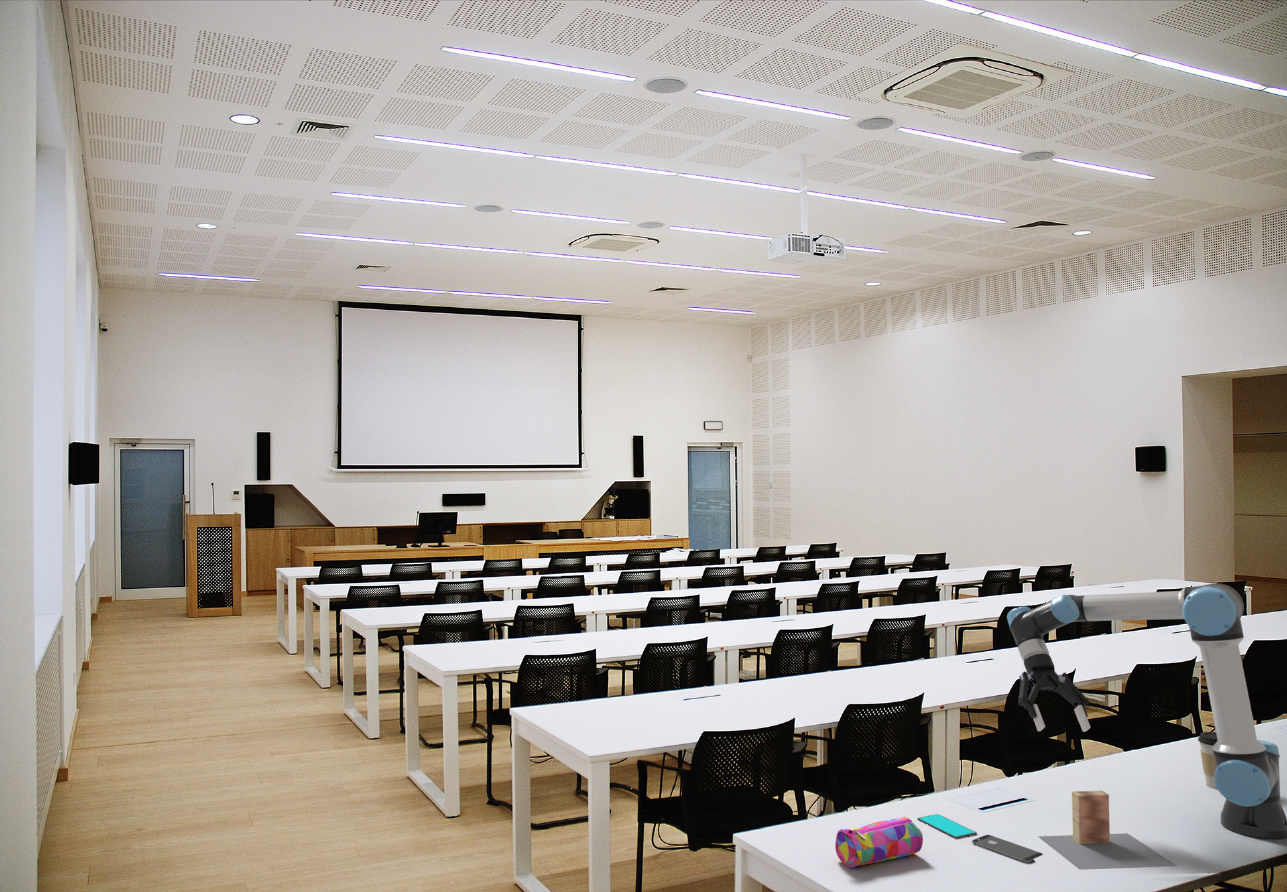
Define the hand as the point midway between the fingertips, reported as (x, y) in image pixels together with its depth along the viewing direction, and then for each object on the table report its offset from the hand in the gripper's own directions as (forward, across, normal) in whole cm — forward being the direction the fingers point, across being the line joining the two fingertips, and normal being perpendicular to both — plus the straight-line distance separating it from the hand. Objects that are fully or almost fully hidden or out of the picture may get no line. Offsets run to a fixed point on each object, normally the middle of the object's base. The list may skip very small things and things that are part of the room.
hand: (1064, 729), depth 249 cm
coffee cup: (+5, -64, -26) cm, 69 cm away
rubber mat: (+32, +2, -1) cm, 32 cm away
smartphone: (+19, +31, -20) cm, 42 cm away
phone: (+29, +24, -7) cm, 38 cm away
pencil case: (+30, +58, -9) cm, 66 cm away
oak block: (+28, +1, -5) cm, 28 cm away
